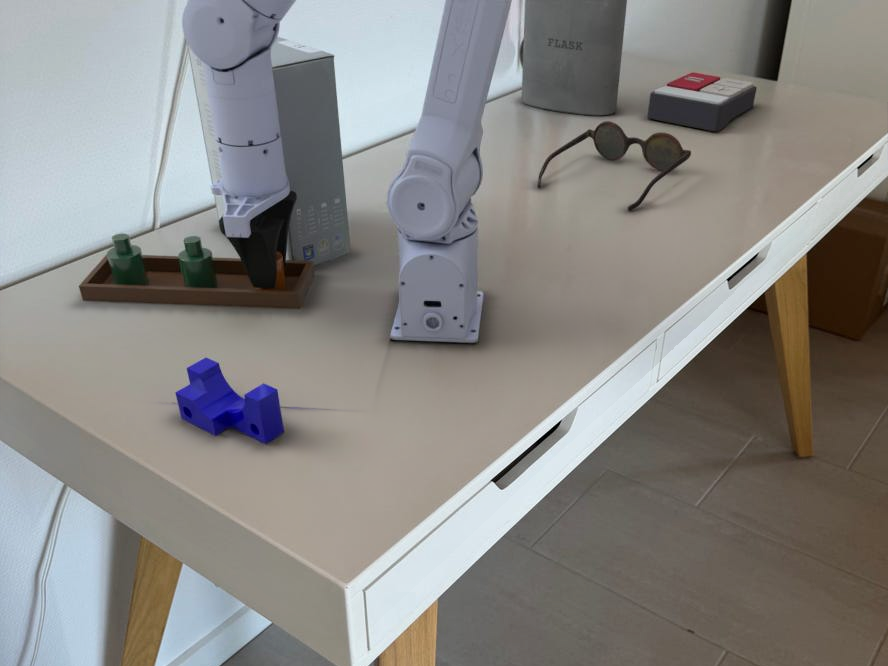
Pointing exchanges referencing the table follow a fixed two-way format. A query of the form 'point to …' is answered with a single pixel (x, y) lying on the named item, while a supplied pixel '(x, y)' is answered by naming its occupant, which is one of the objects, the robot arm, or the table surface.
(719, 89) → the calculator
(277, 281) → the amber bottle
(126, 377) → the table surface
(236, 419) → the cable holder
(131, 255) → the green bottle
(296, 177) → the hard drive box
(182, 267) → the green bottle
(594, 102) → the flask
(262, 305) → the tray
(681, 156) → the eyeglasses
